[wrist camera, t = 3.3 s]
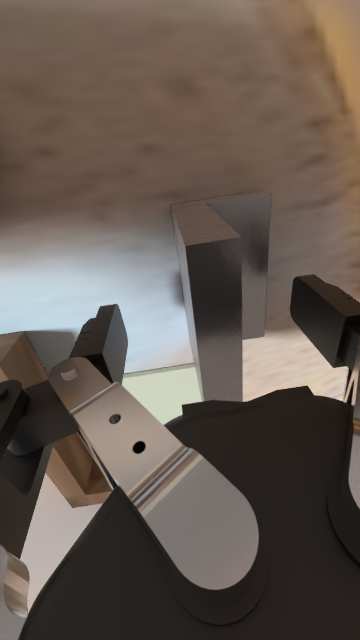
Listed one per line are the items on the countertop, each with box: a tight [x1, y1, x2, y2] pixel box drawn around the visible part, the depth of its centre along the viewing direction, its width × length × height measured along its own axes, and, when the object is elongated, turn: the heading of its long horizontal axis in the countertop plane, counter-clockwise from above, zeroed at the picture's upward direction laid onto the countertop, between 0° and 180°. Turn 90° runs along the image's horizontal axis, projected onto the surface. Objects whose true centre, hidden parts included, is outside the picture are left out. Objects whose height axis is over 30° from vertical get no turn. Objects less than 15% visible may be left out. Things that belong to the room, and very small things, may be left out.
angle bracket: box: [171, 191, 271, 402], centre depth 12 cm, size 8×4×7 cm, turn 8°
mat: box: [122, 363, 202, 425], centre depth 20 cm, size 11×8×1 cm
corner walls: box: [0, 331, 113, 508], centre depth 18 cm, size 18×15×3 cm
